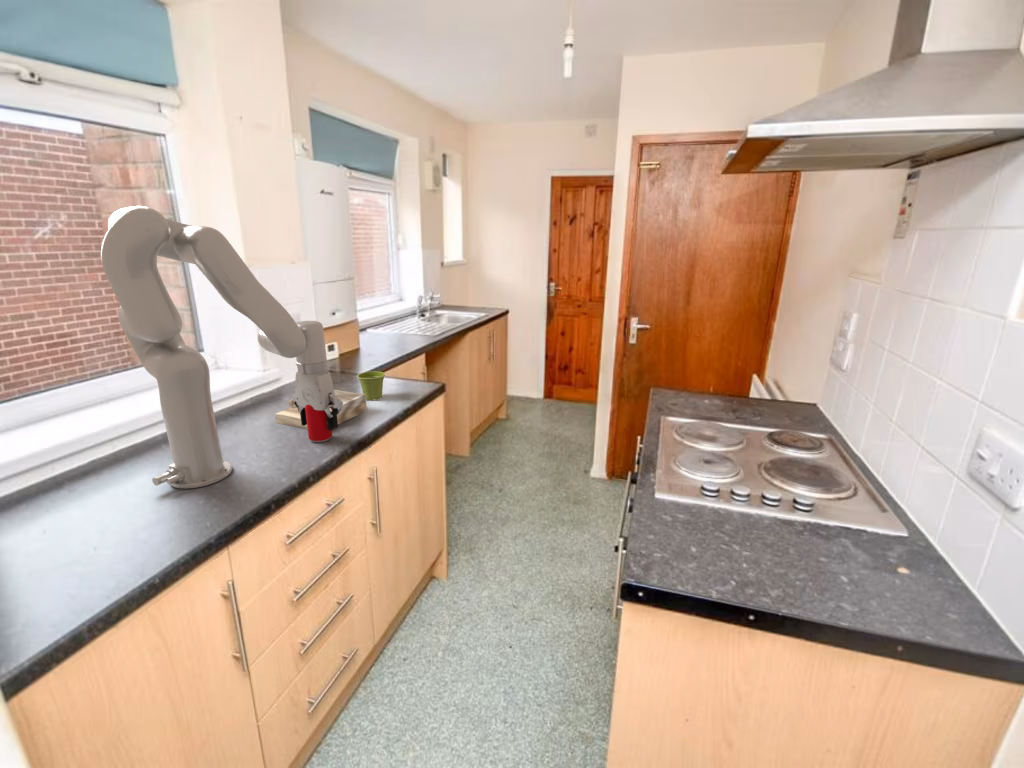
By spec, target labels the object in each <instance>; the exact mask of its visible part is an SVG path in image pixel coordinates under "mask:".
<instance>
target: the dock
mask: <svg viewBox="0 0 1024 768" xmlns="http://www.w3.org/2000/svg"><path fill="white" fill-rule="evenodd" d="M334 393H335V396H336V397H337V398H338V399H340V400H341V401H342V402H343V405H342V408H341V411H340V412H339V414H337V421H338V425H340V424H342V423H344V422H346V421H348V419H349V420H350V418H351V419H352V417H353V418H355V417H356V416H358V415H359V416H360V415H361V414H363V413H365V412H367V411H366V410H368V409H367V408H368V406H367V400H366V395H365V394H363V393H357V392H351V391H346V390H340V389H334ZM334 406H335V405H334ZM288 407H289V408H286V409H283V410H281V411H279V412H276V413H275V414H274V415H275V422H276V424H280V425H285V426H289V427H294V428H295V427H296V428H300V429H303V430H304V429H305V430H308V428H307V425H304V426H303V425H302V424H301V416H300V412H299V411H298V408H297V407H296V405H295V404H294V401H293V399H292V398H291V399H290V400H288ZM329 409H330V411H331V412H332V410H331V408H329ZM364 411H365V412H364ZM354 416H355V417H354Z"/></svg>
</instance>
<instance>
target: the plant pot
mask: <svg viewBox="0 0 1024 768" xmlns="http://www.w3.org/2000/svg"><path fill="white" fill-rule="evenodd" d="M385 376H386V373H384V372H383V371H377V370H376V371H373V370H372V371H366V372H365V371H364V372H362V373H358V374H357V376H356V378H357V379H358V381H359V382H360V387H361V390H362V394H365V395H366V401H369V400H372V401H374V400H375V401H379V400H380V398H381V399H382V398H383V389H384V388H383V386H384V379H385V378H384V377H385ZM378 399H379V400H378Z"/></svg>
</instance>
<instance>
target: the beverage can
mask: <svg viewBox="0 0 1024 768" xmlns="http://www.w3.org/2000/svg"><path fill="white" fill-rule="evenodd" d="M328 406H329V405H328ZM329 410H330V409H329ZM305 413H306V420H307V428H308V429H307V433H308V439H309V441H311V442H313V443H323V442H327V441H329V440H330V439H331V438H332V437H333V430H332V431H329V430H328V424H327V417H329V416H328V415H327V413H326V412H325V410H323V411H319V410H315V409H314V408H313V407H312V406H311V405H306V406H305Z"/></svg>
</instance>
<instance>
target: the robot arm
mask: <svg viewBox="0 0 1024 768" xmlns="http://www.w3.org/2000/svg"><path fill="white" fill-rule="evenodd" d="M107 224H108V225H107V227H108V230H107V231H106V233H105V235H104V238H103V240H102V243H101V251H100V261H101V265H102V269H103V272H104V274H105V277H106V280H107V282H108V283H109V286H110V287H111V289H112V291H113V294H114V297H115V298H116V300H117V302H118V304H119V305H120V306H119V308H118V311H117V312H118V314H117V316H118V322H119V325H120V327H121V329H122V331H123V332H124V334H125V336H126V338H127V339H128V343H130V345H131V347H132V349H133V351H134V352H135V354H136V356H137V358H138V359H139V361H140V363H141V364H142V367H143V368H144V369H145V371H146V372H147V373H148V374H149V375H150V376H152V377H153V378H154V379H156V382H157V385H158V393H159V402H160V403H159V404H160V408H161V413H162V418H163V421H164V426H165V429H166V435H167V440H168V444H169V449H170V453H171V454H170V455H171V457H172V463H171V464H168V468H169V469H168V470H166V471H165V472H164V473H162V474H161V473H160V474H158V475H157V476H154V477H153V478H152V479H151V480H152V483H153V485H154V486H160V485H161V484H164V483H167V485H170V486H171V487H173V488H177V489H194V488H196V489H197V488H203V487H206V486H209V485H212V484H215V483H217V482H220V481H222V480H223V479H225V478H227V477H228V476H229V475H230V474H231V473H232V470H233V467H232V464H231V463H230V462H229V461H227V460H223V454H222V450H221V444H220V438H219V431H218V427H217V423H216V416H215V411H214V407H213V401H212V394H211V393H212V391H211V382H210V381H211V377H210V376H211V375H210V368H209V365H208V362H207V360H206V358H205V357H204V355H202V354H201V353H200V352H199V351H198V350H196V349H195V348H193V347H191V346H189V345H186V343H185V341H184V339H183V336H182V335H181V331H182V329H183V321H182V316H181V315H180V313H179V311H178V309H177V307H176V306H175V304H174V301H173V300H172V298H171V296H170V294H169V292H168V290H167V288H166V286H165V283H164V281H163V279H162V277H161V274H160V272H159V269H158V268H159V267H158V264H157V263H158V262H157V261H158V260H157V259H158V257H162V258H166V259H170V260H174V261H179V262H182V263H186V264H187V263H188V264H192V265H194V266H196V267H197V268H198V270H199V271H200V272H201V273H202V274H203V276H204V277H205V278H206V279H207V280H208V281H209V283H210V284H211V285H212V286H213V288H214V289H215V290H216V291H217V293H218V294H219V295H220V297H222V299H223V300H224V301H225V302H226V303H227V304H228V305H229V306H231V308H232V309H234V310H236V311H237V312H239V313H241V314H242V315H244V316H245V317H246V318H248V319H249V320H250V321H251V322H252V323H253V324H254V325H256V326H257V328H259V331H258V333H257V342H258V344H259V345H260V347H261V348H262V349H264V350H265V351H266V352H269V353H272V354H275V355H277V356H280V357H282V358H283V357H284V358H286V359H293V358H296V359H295V360H296V362H295V365H296V366H297V371H296V372H295V378H294V379H295V380H294V389H295V393H293V394H291V399H293V401H294V404H295V405H296V407H297V408H298V411H299V412H300V416H301V424H302V425H303V426H304V425H307V420H306V413H305V406H306V405H311V406H312V407H313V408H314V409H315V410H319V411H323V410H325V412H326V413H327V415H328V416H329V417H327V424H328V430H329V431H332V432H333V430H336V429H338V427H339V424H338V421H337V414H339V412H340V411H341V408H342V405H343V402H342V401H341V400H340V399H338V398H337V397H336V396H335V393H334V390H335V389H334V387H335V386H334V384H333V380H332V376H331V373H330V371H329V368H328V367H329V366H328V359H327V350H326V341H325V340H326V339H325V331H324V326H323V325H324V324H323V323H322V322H320V321H318V320H301V321H298V322H296V320H294V318H293V317H292V315H291V314H290V313H289V312H288V310H287V309H286V308H285V307H284V306H283V305H282V303H280V301H278V300H277V298H275V297H274V296H273V295H272V293H270V292H269V290H267V288H266V287H264V286H263V285H262V283H260V281H259V280H258V278H256V276H255V275H254V274H253V272H252V271H251V270H250V268H249V267H248V266H247V264H246V263H245V262H244V260H243V259H242V258H241V255H239V254H238V252H237V251H236V249H235V248H234V246H233V245H232V244H231V243H230V241H229V240H228V239H227V238H226V236H225V235H224V234H222V232H221V231H219V230H217V229H216V228H213V227H212V226H211V227H209V226H205V225H204V226H200V225H199V226H197V225H195V226H194V225H189V224H186V223H181V222H178V221H174V220H171V219H168V218H166V217H165V216H164V215H163V214H162V213H160V212H159V211H157V210H156V209H154V208H152V207H150V206H149V207H148V206H143V205H136V206H128V207H123V208H119V209H118V210H116V211H114V212H113V213H112V214H111V215H110V217H108V222H107ZM328 405H329V406H328ZM334 405H335V406H334ZM329 408H331V410H332V412H331V411H330V410H329Z"/></svg>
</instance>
